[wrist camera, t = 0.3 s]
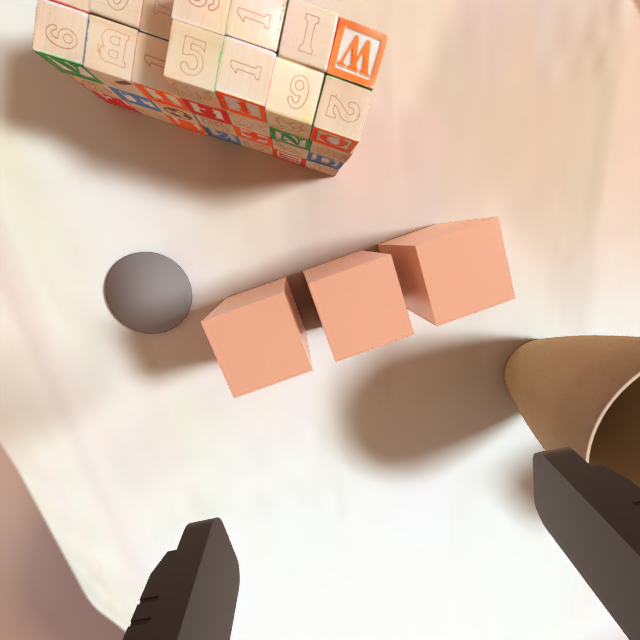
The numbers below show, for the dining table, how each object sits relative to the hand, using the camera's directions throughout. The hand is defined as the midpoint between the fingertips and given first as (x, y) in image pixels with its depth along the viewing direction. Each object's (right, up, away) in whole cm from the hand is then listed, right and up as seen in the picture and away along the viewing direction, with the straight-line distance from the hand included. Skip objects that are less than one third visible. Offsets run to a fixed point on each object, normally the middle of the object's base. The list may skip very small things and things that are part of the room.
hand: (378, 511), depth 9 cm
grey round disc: (-18, +8, +26) cm, 32 cm away
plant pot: (+23, -1, +31) cm, 39 cm away
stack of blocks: (-9, +24, +23) cm, 35 cm away
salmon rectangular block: (+1, +8, +27) cm, 28 cm away
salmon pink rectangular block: (-7, +5, +27) cm, 28 cm away
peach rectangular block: (+8, +11, +27) cm, 30 cm away
